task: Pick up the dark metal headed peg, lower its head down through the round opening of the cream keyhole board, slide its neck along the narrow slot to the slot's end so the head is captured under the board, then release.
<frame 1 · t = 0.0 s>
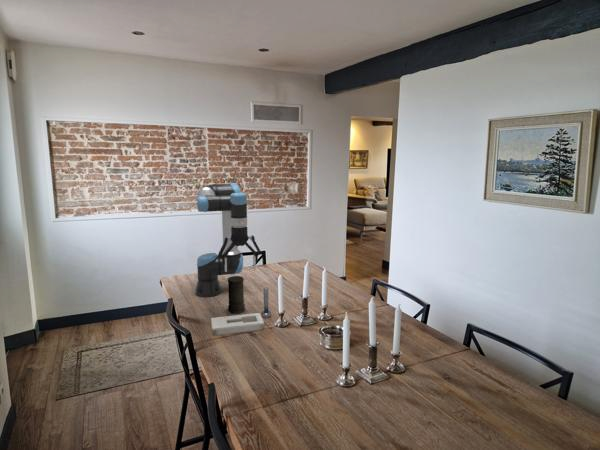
hand: (240, 270, 187), 28 cm above the table, fingers open, 13 cm apart
keyhole board: (237, 326, 190), on the table
peg: (266, 315, 203), on the table
container: (236, 310, 210), on the table
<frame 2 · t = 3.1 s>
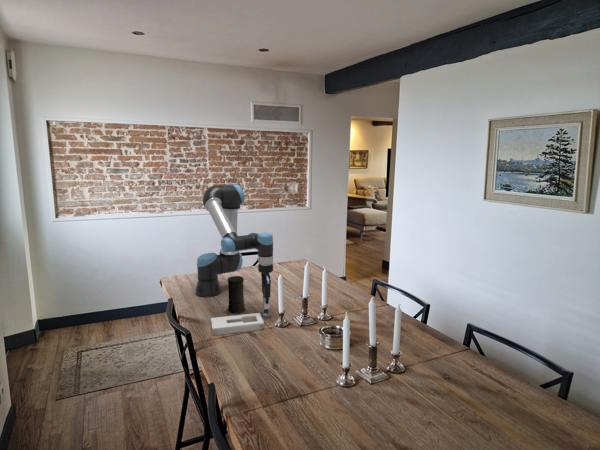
hand: (266, 307, 202), 5 cm above the table, fingers closed on peg, 2 cm apart
peg: (266, 315, 203), on the table, touching gripper
everything else where it was.
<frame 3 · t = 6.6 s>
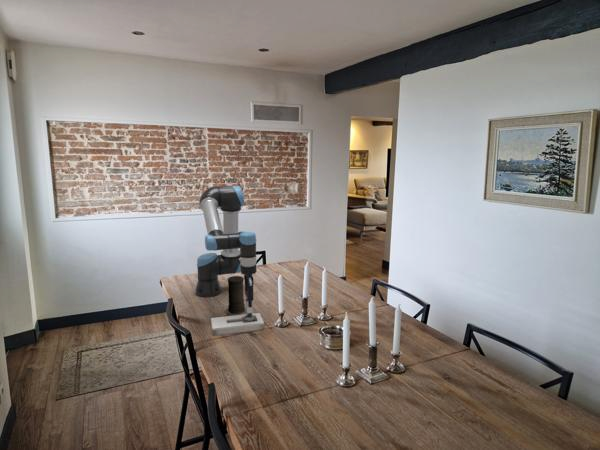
hand: (249, 311, 190), 7 cm above the table, fingers closed on peg, 2 cm apart
peg: (249, 320, 191), point 3 cm above the table, touching gripper
everything else where it was.
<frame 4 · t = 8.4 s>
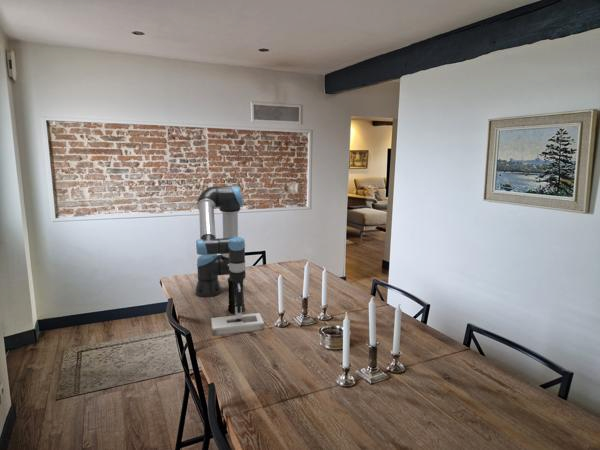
hand: (238, 317, 190), 5 cm above the table, fingers closed on peg, 2 cm apart
peg: (238, 325, 191), resting in keyhole board, touching gripper
everything else where it was.
when the fingers open (5 cm above the table, at t = 10.1 s): peg stays where it is, resting in keyhole board.
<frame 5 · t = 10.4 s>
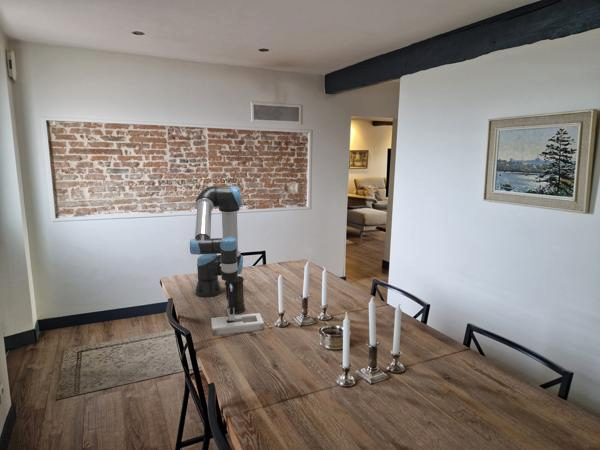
hand: (230, 316, 188), 6 cm above the table, fingers open, 7 cm apart
peg: (231, 327, 190), resting in keyhole board
everything else where it was.
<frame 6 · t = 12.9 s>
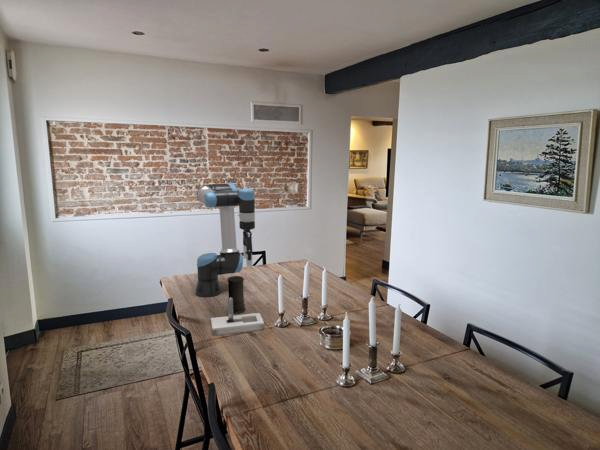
hand: (247, 262, 198), 29 cm above the table, fingers open, 13 cm apart
nothing on the table moved.
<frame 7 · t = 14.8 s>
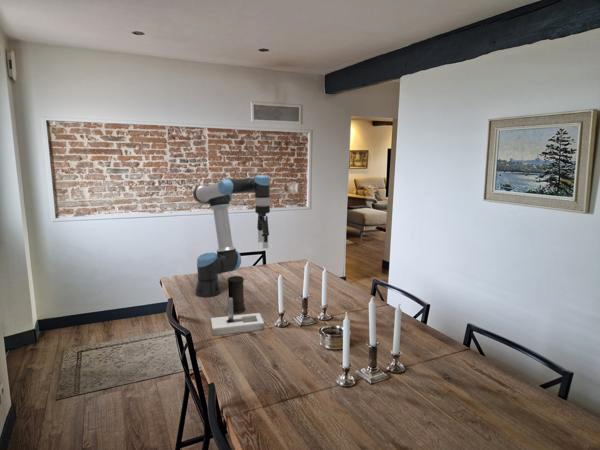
hand: (263, 245, 208), 35 cm above the table, fingers open, 13 cm apart
nothing on the table moved.
at the end: peg 0.0 cm from the target spot on the keyhole board, point 0.0 cm above the keyhole board's base; peg tilted 0°; the gripper is holding nothing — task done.
